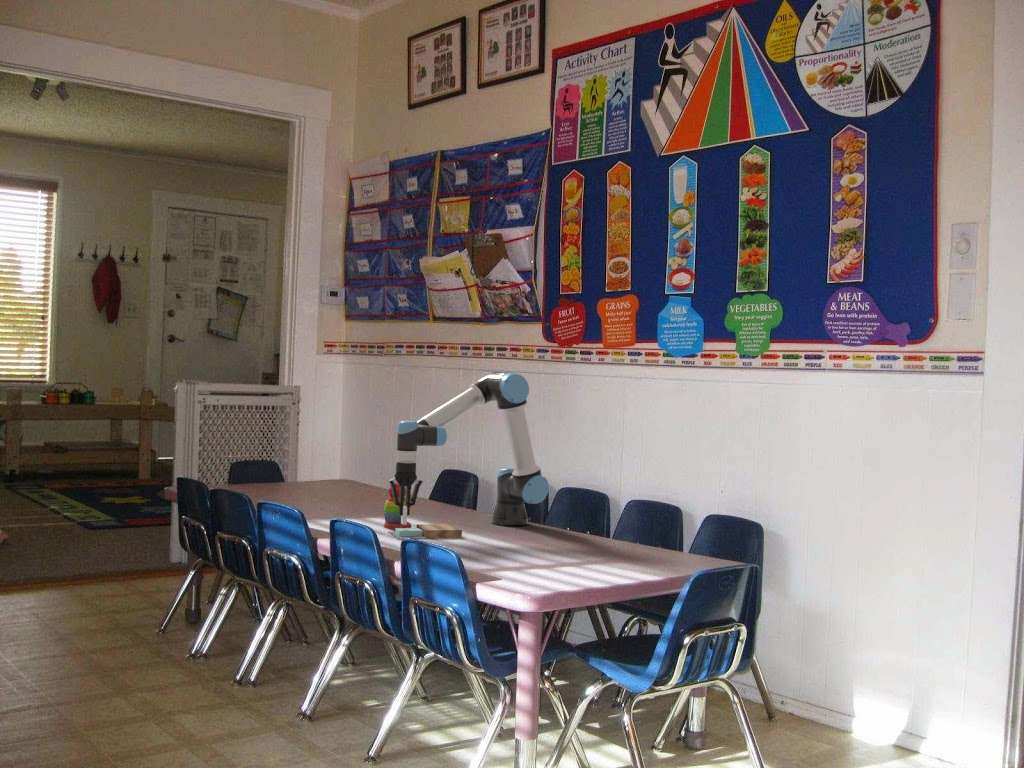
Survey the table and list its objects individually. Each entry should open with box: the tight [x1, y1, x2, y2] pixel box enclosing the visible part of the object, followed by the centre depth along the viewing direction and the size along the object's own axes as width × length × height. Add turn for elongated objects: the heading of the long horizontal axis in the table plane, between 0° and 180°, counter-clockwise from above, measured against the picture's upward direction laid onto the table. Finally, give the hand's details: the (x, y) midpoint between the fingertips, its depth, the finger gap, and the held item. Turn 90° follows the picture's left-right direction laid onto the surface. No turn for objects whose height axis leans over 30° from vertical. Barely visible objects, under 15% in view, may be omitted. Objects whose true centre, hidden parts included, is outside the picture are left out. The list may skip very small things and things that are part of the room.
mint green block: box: [394, 527, 423, 536], centre depth 417 cm, size 9×6×2 cm, turn 110°
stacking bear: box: [383, 481, 412, 530], centre depth 435 cm, size 11×10×18 cm
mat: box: [387, 530, 428, 540], centre depth 417 cm, size 11×16×1 cm
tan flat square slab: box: [415, 523, 463, 539], centre depth 422 cm, size 14×14×3 cm
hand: (403, 523), depth 417 cm, fingers closed
